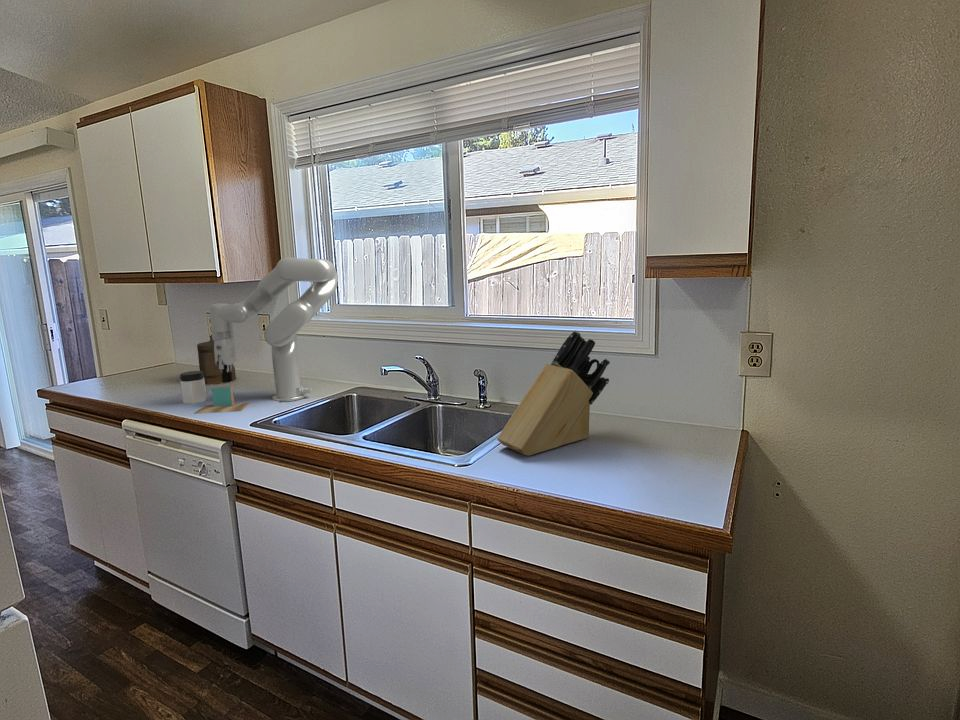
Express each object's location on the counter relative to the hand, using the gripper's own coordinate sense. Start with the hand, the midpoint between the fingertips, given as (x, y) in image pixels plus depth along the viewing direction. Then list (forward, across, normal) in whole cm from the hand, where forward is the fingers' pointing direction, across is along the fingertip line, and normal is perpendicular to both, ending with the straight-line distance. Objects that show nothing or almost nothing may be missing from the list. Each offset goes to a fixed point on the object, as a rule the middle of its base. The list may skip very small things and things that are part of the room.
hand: (227, 381), depth 217 cm
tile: (+8, -8, -1) cm, 11 cm away
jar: (+9, +3, +14) cm, 17 cm away
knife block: (+6, -66, -117) cm, 135 cm away
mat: (+8, -11, -2) cm, 14 cm away
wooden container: (+9, +42, +20) cm, 47 cm away
